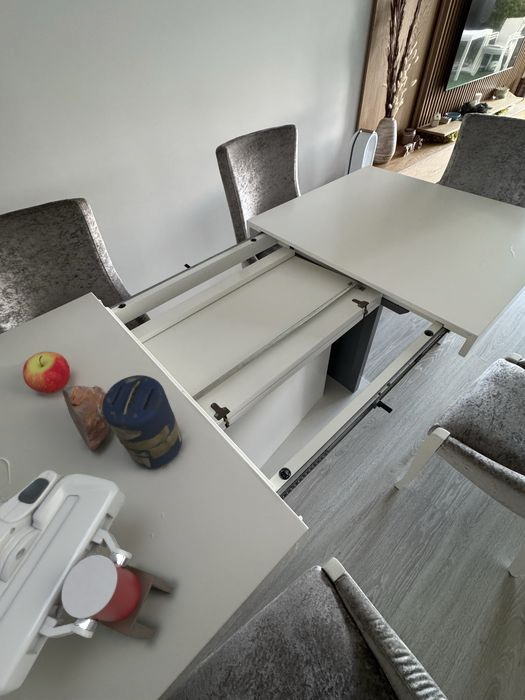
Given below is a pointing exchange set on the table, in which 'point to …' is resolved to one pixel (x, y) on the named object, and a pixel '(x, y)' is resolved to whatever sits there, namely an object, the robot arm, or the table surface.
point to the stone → (87, 413)
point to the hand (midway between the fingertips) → (111, 592)
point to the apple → (46, 372)
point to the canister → (143, 420)
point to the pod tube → (100, 590)
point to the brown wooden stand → (138, 606)
